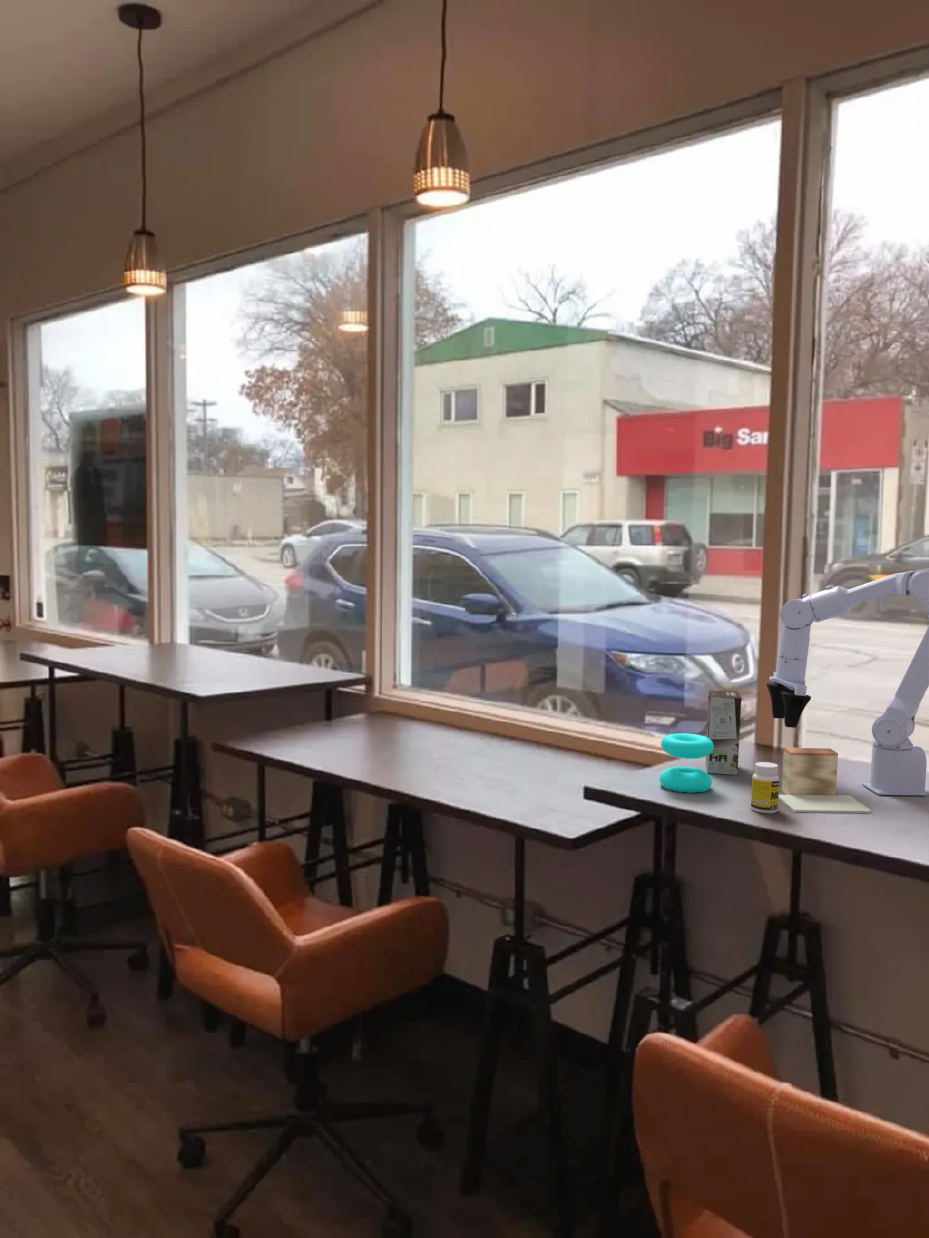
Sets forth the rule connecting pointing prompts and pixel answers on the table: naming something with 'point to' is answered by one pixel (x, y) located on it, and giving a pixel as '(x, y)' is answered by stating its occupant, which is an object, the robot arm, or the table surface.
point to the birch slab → (809, 771)
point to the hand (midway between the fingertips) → (784, 722)
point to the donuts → (681, 775)
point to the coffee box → (723, 731)
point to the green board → (823, 803)
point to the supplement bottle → (765, 788)
